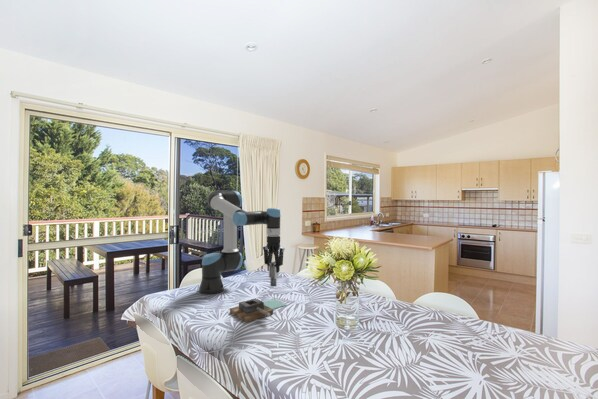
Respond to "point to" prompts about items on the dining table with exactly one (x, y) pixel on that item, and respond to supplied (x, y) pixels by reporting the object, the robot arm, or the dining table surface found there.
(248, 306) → the block
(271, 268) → the key
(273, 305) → the mat
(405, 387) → the dining table surface
